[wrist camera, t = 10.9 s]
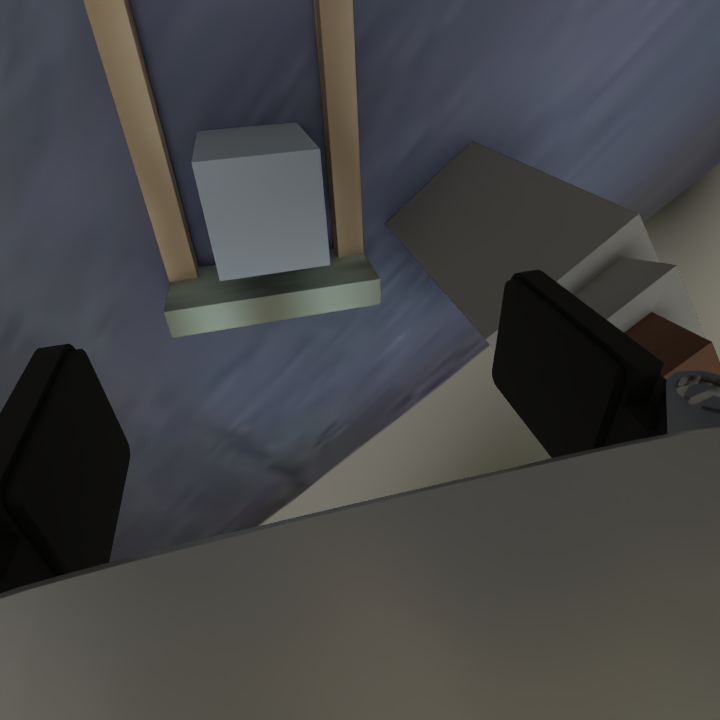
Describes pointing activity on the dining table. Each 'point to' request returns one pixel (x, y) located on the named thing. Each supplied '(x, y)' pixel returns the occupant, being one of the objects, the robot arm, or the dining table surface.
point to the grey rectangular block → (262, 199)
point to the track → (159, 188)
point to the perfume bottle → (548, 253)
